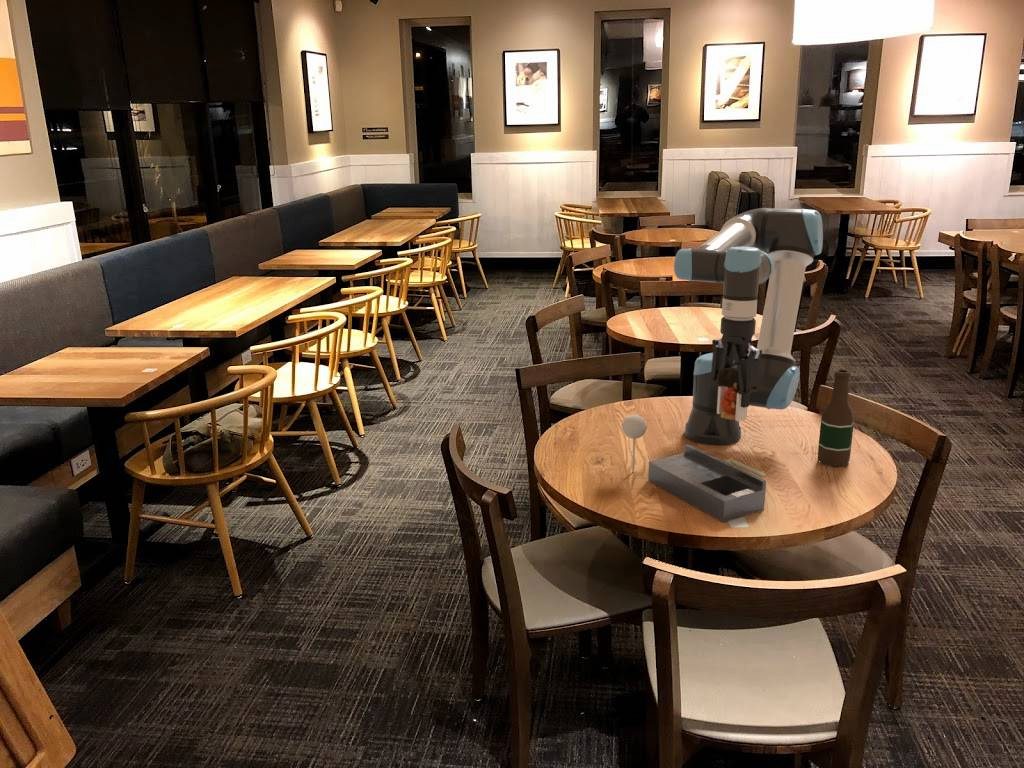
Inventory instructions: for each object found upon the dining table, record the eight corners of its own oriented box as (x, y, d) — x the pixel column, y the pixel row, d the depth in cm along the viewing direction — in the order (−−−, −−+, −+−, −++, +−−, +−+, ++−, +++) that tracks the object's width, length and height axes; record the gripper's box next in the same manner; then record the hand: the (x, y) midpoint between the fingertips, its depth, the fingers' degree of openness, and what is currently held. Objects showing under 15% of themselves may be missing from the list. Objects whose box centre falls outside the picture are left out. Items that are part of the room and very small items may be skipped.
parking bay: (695, 470, 203) (695, 468, 203) (731, 460, 209) (731, 458, 209) (727, 486, 194) (727, 484, 193) (765, 475, 199) (765, 474, 199)
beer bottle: (852, 468, 202) (862, 376, 195) (819, 466, 204) (828, 374, 197) (846, 456, 209) (856, 367, 202) (814, 455, 211) (823, 366, 204)
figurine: (728, 422, 185) (732, 371, 181) (712, 415, 189) (715, 365, 186) (749, 418, 187) (753, 368, 184) (733, 412, 192) (736, 362, 189)
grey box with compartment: (648, 480, 198) (649, 453, 196) (686, 470, 203) (687, 444, 201) (723, 522, 176) (725, 492, 174) (764, 509, 181) (766, 480, 179)
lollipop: (647, 469, 204) (649, 412, 200) (643, 478, 199) (645, 420, 195) (623, 466, 206) (624, 410, 202) (618, 475, 201) (619, 418, 197)
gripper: (698, 312, 188) (692, 408, 194) (756, 326, 173) (747, 430, 179) (722, 309, 192) (716, 403, 198) (781, 322, 176) (772, 424, 182)
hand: (731, 416), depth 188 cm, fingers closed on figurine, 5 cm apart
